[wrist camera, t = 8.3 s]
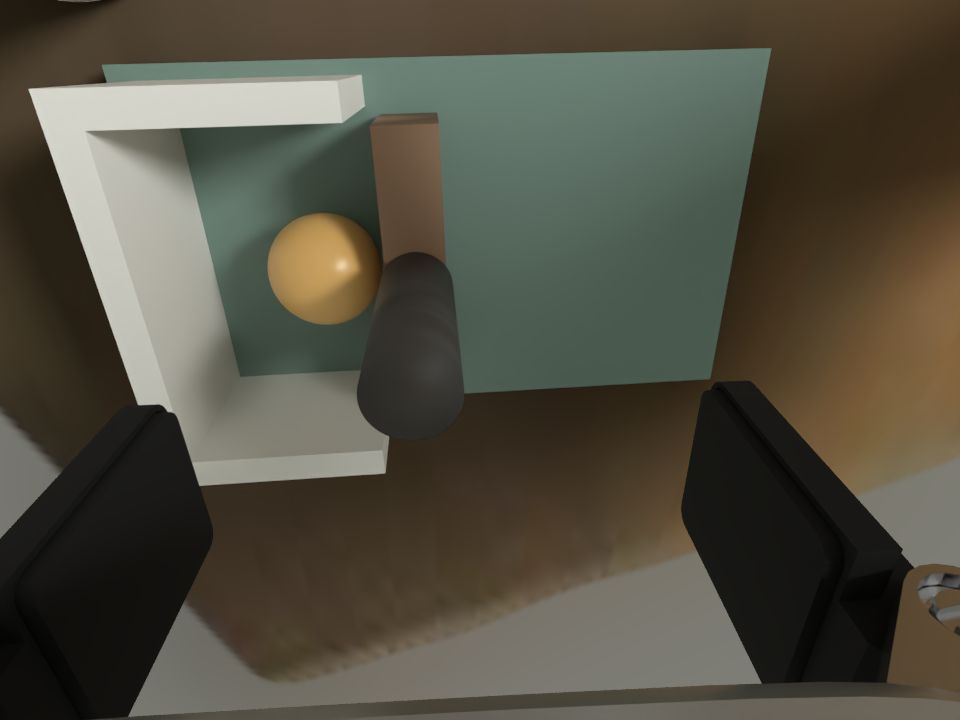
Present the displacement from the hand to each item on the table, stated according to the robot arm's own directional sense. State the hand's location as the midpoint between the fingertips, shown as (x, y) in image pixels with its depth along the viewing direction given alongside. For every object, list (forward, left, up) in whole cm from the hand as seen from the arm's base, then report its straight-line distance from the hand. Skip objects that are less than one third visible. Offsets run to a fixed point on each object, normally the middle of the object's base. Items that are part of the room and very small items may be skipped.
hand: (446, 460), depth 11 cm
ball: (+4, 0, -12) cm, 13 cm away
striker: (+1, 0, -14) cm, 14 cm away
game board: (-1, 0, -16) cm, 16 cm away
